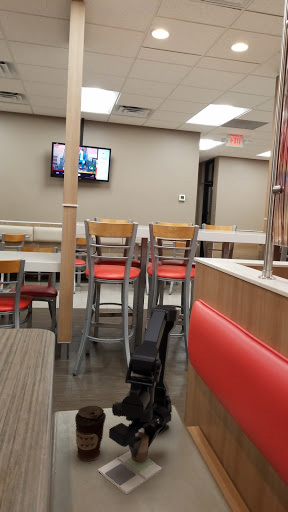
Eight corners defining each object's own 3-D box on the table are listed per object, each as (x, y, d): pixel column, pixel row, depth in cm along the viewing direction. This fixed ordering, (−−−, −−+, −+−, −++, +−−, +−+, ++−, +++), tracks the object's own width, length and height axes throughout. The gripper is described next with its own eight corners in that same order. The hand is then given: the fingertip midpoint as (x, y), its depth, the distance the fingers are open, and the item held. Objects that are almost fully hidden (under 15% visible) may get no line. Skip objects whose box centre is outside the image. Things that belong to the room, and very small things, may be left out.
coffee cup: (98, 467, 102) (99, 422, 101) (68, 461, 104) (70, 417, 102) (107, 447, 111) (109, 405, 109) (80, 442, 112) (81, 401, 111)
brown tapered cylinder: (150, 457, 104) (152, 437, 103) (139, 464, 101) (140, 443, 100) (139, 449, 107) (140, 430, 106) (128, 456, 104) (129, 436, 103)
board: (133, 450, 110) (133, 447, 110) (161, 469, 103) (161, 466, 102) (97, 471, 101) (98, 467, 101) (126, 494, 93) (126, 490, 93)
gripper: (145, 378, 114) (142, 427, 116) (96, 398, 101) (94, 453, 103) (174, 392, 106) (170, 444, 108) (125, 416, 93) (122, 475, 95)
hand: (140, 453), depth 104 cm, fingers closed on brown tapered cylinder, 4 cm apart
